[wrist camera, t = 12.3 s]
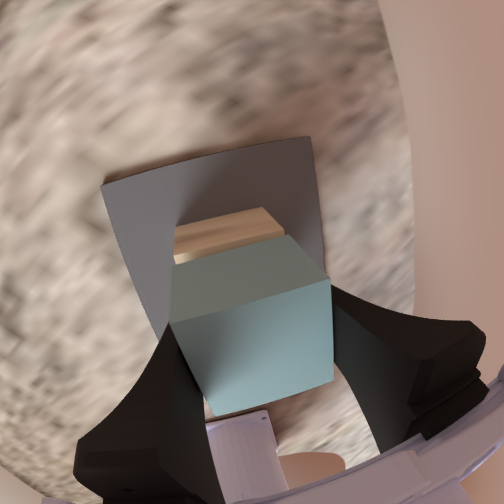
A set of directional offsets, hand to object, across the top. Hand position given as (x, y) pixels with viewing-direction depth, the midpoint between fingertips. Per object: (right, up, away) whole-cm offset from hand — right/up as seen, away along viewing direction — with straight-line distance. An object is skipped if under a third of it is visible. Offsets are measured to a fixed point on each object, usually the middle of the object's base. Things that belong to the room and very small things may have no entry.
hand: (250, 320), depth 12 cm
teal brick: (0, +1, +1) cm, 2 cm away
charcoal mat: (-1, +3, +6) cm, 7 cm away
